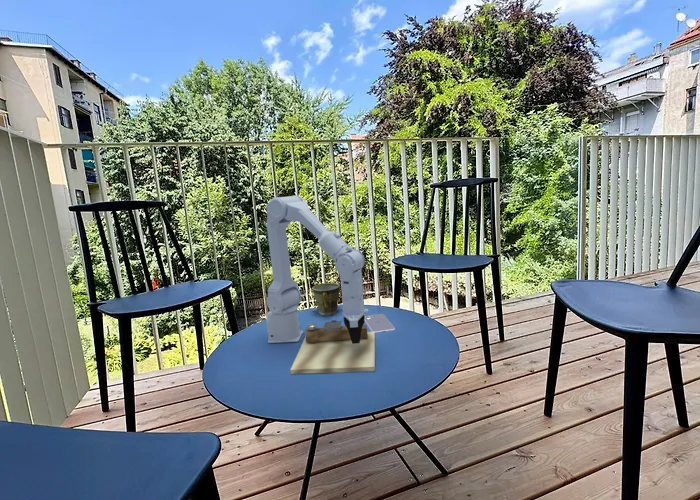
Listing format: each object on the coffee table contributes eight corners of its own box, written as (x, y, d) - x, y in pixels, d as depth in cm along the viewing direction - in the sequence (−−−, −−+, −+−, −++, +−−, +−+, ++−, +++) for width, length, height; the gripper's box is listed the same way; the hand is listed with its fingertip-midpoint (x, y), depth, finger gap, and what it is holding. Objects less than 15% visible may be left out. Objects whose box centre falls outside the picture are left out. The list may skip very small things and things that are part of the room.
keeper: (307, 343, 107) (306, 328, 106) (311, 335, 113) (310, 320, 113) (341, 342, 107) (340, 326, 106) (343, 333, 113) (342, 318, 112)
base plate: (290, 374, 93) (290, 369, 93) (306, 338, 115) (306, 334, 114) (374, 371, 91) (374, 366, 91) (374, 335, 113) (374, 331, 113)
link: (304, 343, 107) (304, 333, 106) (306, 337, 111) (305, 327, 111) (367, 339, 107) (367, 329, 106) (367, 333, 111) (366, 323, 111)
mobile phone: (372, 331, 114) (362, 315, 129) (372, 334, 115) (362, 318, 129) (396, 328, 116) (383, 312, 130) (396, 331, 116) (383, 315, 130)
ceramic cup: (316, 308, 141) (314, 283, 140) (342, 307, 141) (340, 281, 139) (312, 321, 129) (309, 293, 127) (340, 319, 128) (338, 291, 126)
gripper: (368, 302, 93) (371, 353, 95) (366, 286, 107) (369, 331, 110) (340, 304, 93) (344, 354, 95) (342, 288, 107) (345, 332, 110)
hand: (355, 342), depth 103 cm, fingers closed
